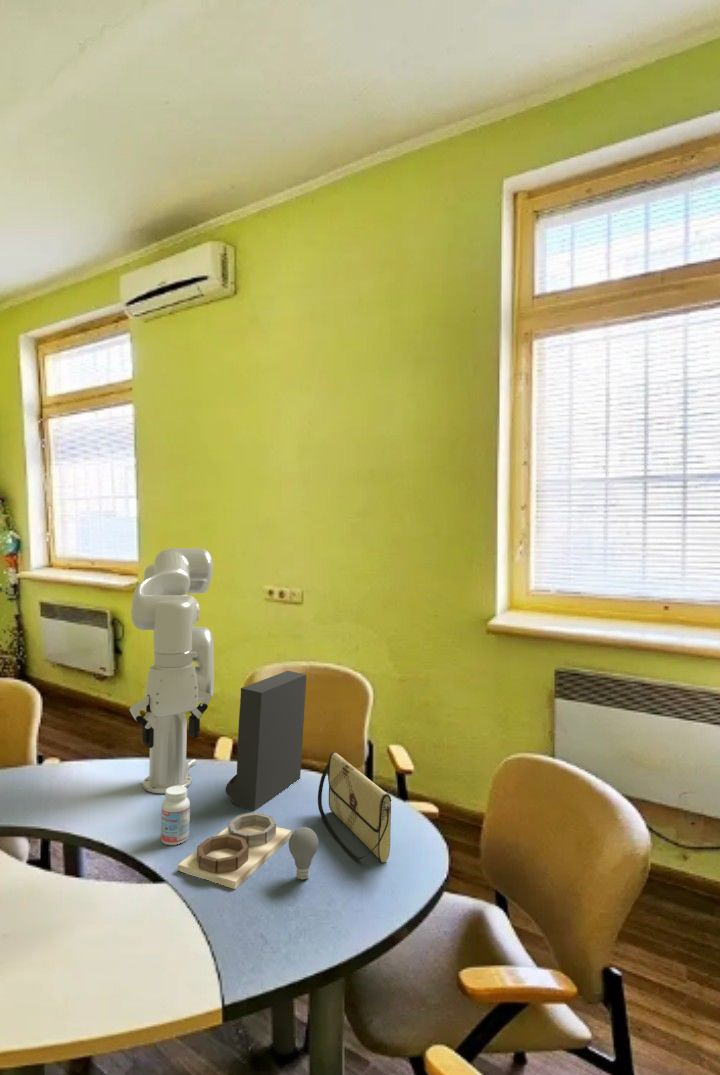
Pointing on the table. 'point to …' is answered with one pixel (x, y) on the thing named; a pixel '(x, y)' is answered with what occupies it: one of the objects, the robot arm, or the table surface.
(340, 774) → the clutch purse
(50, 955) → the table surface
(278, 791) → the dark gray upright block
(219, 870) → the holder board
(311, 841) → the light bulb
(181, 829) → the pill bottle
